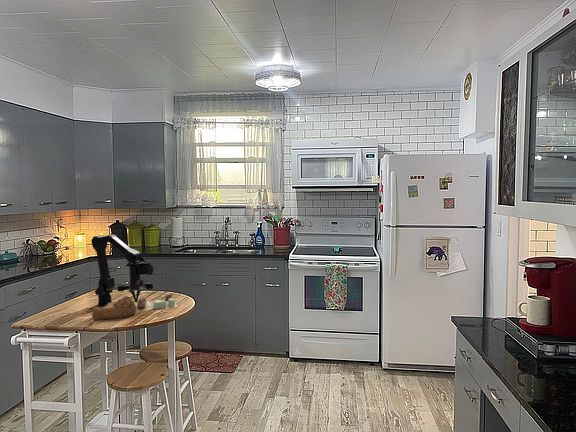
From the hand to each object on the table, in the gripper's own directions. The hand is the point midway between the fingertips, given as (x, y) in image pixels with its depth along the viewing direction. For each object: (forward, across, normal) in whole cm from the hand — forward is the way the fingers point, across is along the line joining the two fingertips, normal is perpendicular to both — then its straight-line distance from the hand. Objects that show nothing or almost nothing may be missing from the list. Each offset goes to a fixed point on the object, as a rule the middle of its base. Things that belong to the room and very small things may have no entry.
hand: (136, 302), depth 264 cm
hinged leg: (+1, +3, -4) cm, 5 cm away
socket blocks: (+2, +15, -10) cm, 18 cm away
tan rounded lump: (+3, -9, -22) cm, 24 cm away
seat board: (+3, +10, -3) cm, 10 cm away
